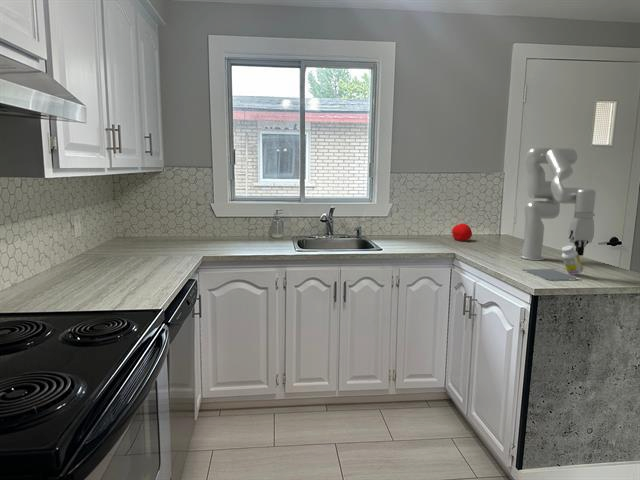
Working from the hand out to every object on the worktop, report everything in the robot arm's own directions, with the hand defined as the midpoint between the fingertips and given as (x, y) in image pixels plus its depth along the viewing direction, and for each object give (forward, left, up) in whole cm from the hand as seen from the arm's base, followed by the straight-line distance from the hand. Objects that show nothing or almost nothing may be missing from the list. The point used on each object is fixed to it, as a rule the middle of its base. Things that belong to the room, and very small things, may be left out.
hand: (579, 255), depth 205 cm
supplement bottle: (0, 0, -8) cm, 8 cm away
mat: (0, -13, -9) cm, 16 cm away
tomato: (-97, -10, -10) cm, 98 cm away
